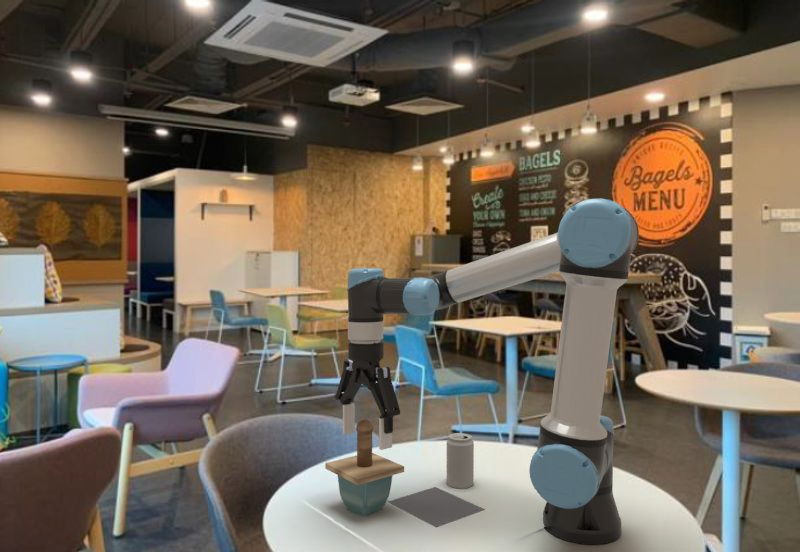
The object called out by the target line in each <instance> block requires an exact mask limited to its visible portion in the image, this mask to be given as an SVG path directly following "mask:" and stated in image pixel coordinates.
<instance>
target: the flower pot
mask: <svg viewBox="0 0 800 552" xmlns="http://www.w3.org/2000/svg"><path fill="white" fill-rule="evenodd" d="M393 476H394V475H392V476H388V477H385V478H381V479H378V480H374V481H371V482H367V483H364V484H360V485H356V484H354V483H352V482H350V481H349V480H347V479H345V478H343V477H341V476H339V475H337V481H338V490H339V495H340V497H341V500H342V502H343V505H344V506H345V508H346V509H347V510H348V511H350V512H353V513H355V514H358V515H360V516H363V517H367V516H370V515H371V514H373V513H375V512H378V511H380V510H382V509H383V508H384V506H385V504H387V502H388V499H389V497H390V492H391V488H392V481H393Z"/></svg>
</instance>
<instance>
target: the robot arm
mask: <svg viewBox="0 0 800 552" xmlns="http://www.w3.org/2000/svg"><path fill="white" fill-rule="evenodd" d="M639 235H640V230H639V226H638V222H637V220H636V219H635V217H634V216H633V214H632V213H631V212H630V211H629V210H627V208H625V207H623V206H622V205H621V204H619V203H618V202H616V201H614V200H611V199H608V198H606V199H605V198H603V197H602V198H588V199H585V200H582V201H580V202H577V203H576V204H574V205H573V206H571V207H570V208H569V209H568V210H567V211H566V212H565V214H564V215H563V216H562V219H561V220H560V222H559V226H558V231H557V232H555V233H553V234H549V235H548V236H544V237H541V238H538V239H535V240H532V241H529V242H526V243H523V244H520V245H518V246H515V247H512V248H509V249H505V250H503V251H501V252H498V253H495V254H491V255H489V256H485V257H483V258H480V259H477V260H473V261H471V262H469V263H465V264H462V265H460V266H457V267H455V268H450V269H447V270H446V271H443V272H438V273H436V274H433V275H431V276H430V275H429V276H422V277H421V276H417V277H416V276H415V277H385V275H384V270H383V269H382V268H376V267H375V268H372V267H371V268H369V267H368V268H367V267H366V268H352V269H350V270H349V271H348V276H347V288H346V291H347V311H348V312H347V313H348V317H347V319H348V320H347V340H349V342H348V344H347V354H348V355H347V356H348V357H347V358H348V359H346V360H344V361H343V367H342V374H341V375H340V376H341V377H340V380H339V383H338V388H337V391H336V394H335V399H336V400H338V401H340V404H341V415H342V435H343V436H345V435H351V434H355V433H356V431H355V430H356V425H355V423H356V417H355V416H356V412H355V411H356V410H355V409H356V408H355V406H356V404H355V403H354V402H355V400H354V399H355V397H356V395H357V393H358V392H359V390H360V388H361V387H362V386H364V387H366V388H367V389H368V391H370V392H371V394H372V396H373V398H374V401H375V403H376V405H377V407H378V410H379V413H380V416H379V418H378V426H379V427H378V435H379V436H378V439H379V440H378V441H379V442H378V447H379V448H378V449H379V450H380V451H381V450H382V451H383V450H386V449H391V448H393V432H394V417H395V416H400V414H401V409H400V406H399V403H398V398H397V395H396V392H395V389H394V385H393V384H394V383H393V382H392V378H391V368H390V367H389V366H386V367H385V366H384V367H381V364H380V361H382V360H383V359H384V356H385V354H384V351H385V350H384V348H385V347H384V345H385V344H384V342H383V340H384V315H407V316H408V315H409V316H414V317H419V316H431V315H433V314H434V313H435V312H436V311H439V310H444V309H447V308H449V307H450V306H454V305H456V304H459V303H462V302H466V301H468V300H471V299H476V298H478V297H481V296H484V295H489V294H490V293H494V292H497V291H500V290H503V289H507V288H509V287H514V286H516V285H517V286H518V285H521V284H524V283H526V282H529V281H530V282H531V281H532V280H536V279H539V278H543V277H545V276H549V275H552V274H555V273H559V275H560V276H561V277H562V279H564V281H565V284H566V285H565V293H564V300H563V310H562V318H561V325H560V333H559V342H558V350H557V357H556V365H555V373H554V382H553V383H554V384H553V390H552V391H553V392H552V399H551V407H550V413H548V414H547V415H546V416H544V417H543V418H541V421H540V424H539V425H540V427H539V434H538V441H537V449H536V451H535V452H534V453H533V455H532V457H531V459H530V462H529V478H530V479H529V480H530V481H531V482H530V483H531V485H532V486H533V488H534V490H536V492H537V493H538V494H539V496H540V497H541V498H542V499H543V500H544V501H546V503H545V506H544V509H543V511H542V523H543V525H544V529H545V530H546V531H547V532H548V533H549V534H551V535H553V536H555V537H557V538H560V539H562V540H564V541H568V542H572V543H576V544H583V545H603V544H609V543H612V542H615V541H617V540H618V539H620V537H621V536H622V519H621V517H620V513H619V510H618V507H617V503H616V501H615V497H614V491H613V483H614V482H613V479H614V477H613V475H614V472H613V471H614V435H615V430H614V422H613V420H612V419H611V418H610V417H608V416H605V415H602V407H603V402H604V401H603V400H604V393H605V392H604V391H605V385H606V378H607V377H606V376H607V370H608V361H609V355H610V353H609V352H610V347H611V339H612V332H613V323H614V317H615V309H616V308H615V307H616V299H617V293H618V289H619V288H620V287H622V286H623V285H624V284H625V283H626V282H628V280H629V279H628V278H629V271H630V265H631V257H632V253H634V251H635V249H636V247H637V245H638V243H639V242H638V241H639V239H640V238H639V237H640V236H639Z"/></svg>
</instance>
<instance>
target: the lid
mask: <svg viewBox="0 0 800 552" xmlns="http://www.w3.org/2000/svg"><path fill="white" fill-rule="evenodd" d="M355 430H356V431H355V432H356V455H353V456H348V457H344V458H341V459H338V460H333V461H327V462H326V463H325V464H324V465H325V469H326V470H327V471H329V472H331V473H333V474H335V475H337V476H338V475H339V476H341V477H343V478H345V479H347V480H349V481H350V482H352V483H354V484H356V485H360V484H364V483H367V482H371V481H374V480H378V479H381V478H385V477H388V476H392V475H393V476H396V475H400V474H402V473H405V466H404V465H401V464H400V463H397V462H394V461H393V460H390V459H387V458H386V457H383V456H381V455H378V454H376V453H374V452H373V431H374V425H373V422H371V421H370V420H368V419H362V420H360V421H358V423H357V424H356V425H355ZM393 476H392V477H393Z"/></svg>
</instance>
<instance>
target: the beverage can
mask: <svg viewBox="0 0 800 552" xmlns="http://www.w3.org/2000/svg"><path fill="white" fill-rule="evenodd" d="M474 444H475V443H474V440H473V436H472V435H470V434H468V433H461V432H456V433H451V434H449V435H448V436H447V440H446V484H447V486H448V487H451V488H453V489H459V490H460V489H461V490H462V489H469V488H471V487H473V486H474V483H475V481H474V479H475V478H474V476H475V475H474V472H475V471H474V469H475V468H474V465H475V463H474V461H475V460H474V449H475V445H474Z"/></svg>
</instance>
